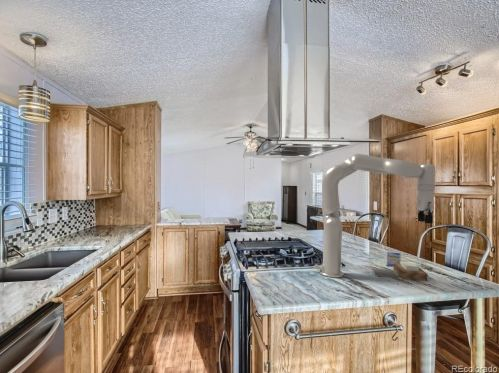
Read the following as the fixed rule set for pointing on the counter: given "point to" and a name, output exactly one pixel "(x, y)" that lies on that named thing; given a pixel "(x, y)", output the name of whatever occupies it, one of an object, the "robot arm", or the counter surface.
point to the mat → (385, 273)
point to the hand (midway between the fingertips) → (424, 221)
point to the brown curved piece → (410, 273)
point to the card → (409, 266)
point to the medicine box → (392, 258)
